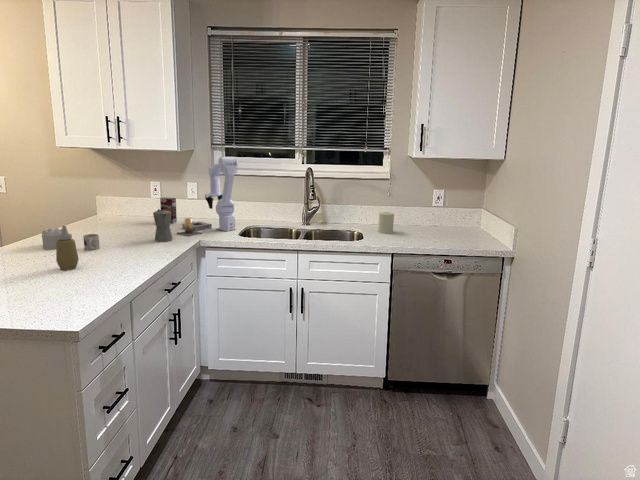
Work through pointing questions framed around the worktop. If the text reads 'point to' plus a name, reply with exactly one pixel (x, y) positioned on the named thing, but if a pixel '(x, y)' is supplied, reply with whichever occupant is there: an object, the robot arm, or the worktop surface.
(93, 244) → the mug
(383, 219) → the can
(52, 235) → the lumpy-topped squat cylinder
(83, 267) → the worktop surface
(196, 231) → the mat
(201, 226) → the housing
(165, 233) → the coffeepot
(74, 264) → the squeeze bottle
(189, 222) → the end cap
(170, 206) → the supplement box
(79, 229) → the worktop surface
